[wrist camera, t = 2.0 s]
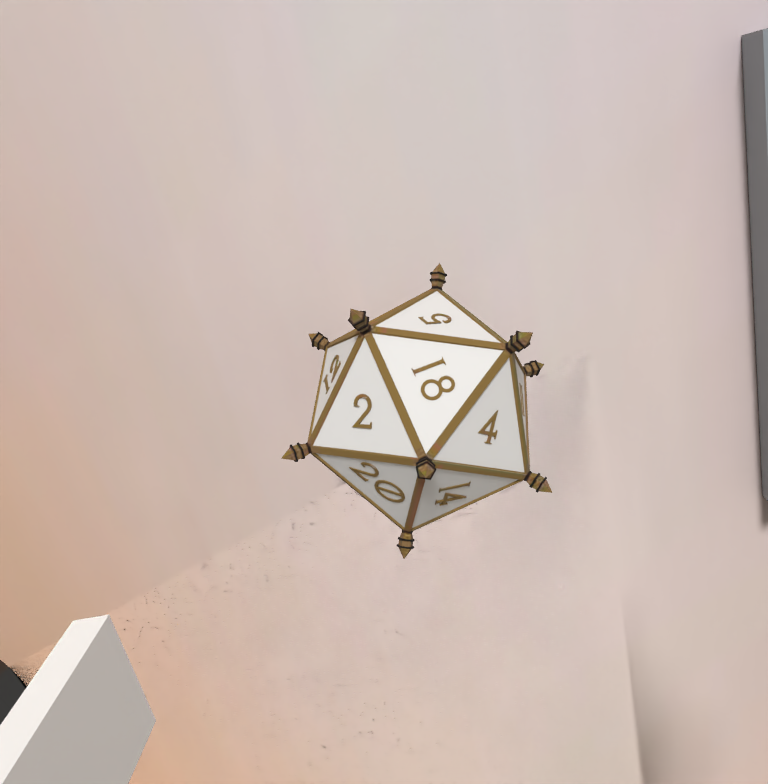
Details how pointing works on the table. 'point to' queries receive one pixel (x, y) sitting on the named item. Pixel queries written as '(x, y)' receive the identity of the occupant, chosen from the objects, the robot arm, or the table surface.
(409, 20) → the table surface
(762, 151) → the board
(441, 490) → the game die
